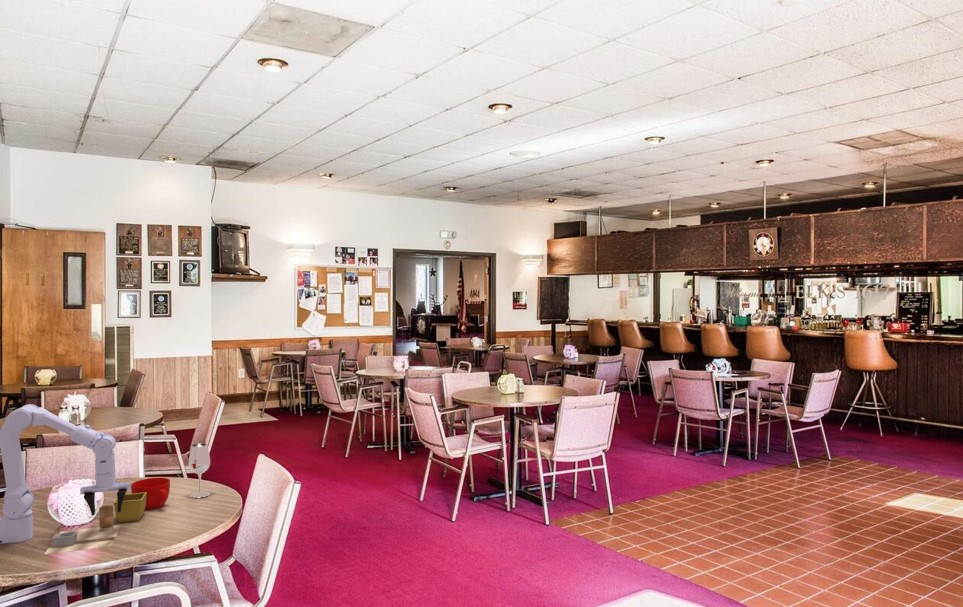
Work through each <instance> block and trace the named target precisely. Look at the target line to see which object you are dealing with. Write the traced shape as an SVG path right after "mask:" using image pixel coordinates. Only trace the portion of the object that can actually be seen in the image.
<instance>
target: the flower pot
mask: <svg viewBox="0 0 963 607" xmlns="http://www.w3.org/2000/svg"><path fill="white" fill-rule="evenodd" d="M146 494H147V493H146V492H145V493H135V494H132V493H126V494H125V496H124V499H123V502H122V507H121V512H118V498H117V497H116V499H115V500H114V502H113V508H114V512H115V515H116V519H117V520H118V522H119V523H124V522H136V521H140V520H141V518H142V517H143V516H144V513H145V510H146V509H145V506H146Z"/></svg>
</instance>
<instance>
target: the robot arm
mask: <svg viewBox="0 0 963 607" xmlns="http://www.w3.org/2000/svg"><path fill="white" fill-rule="evenodd" d="M29 426H32V427H39V426H47V427H49V428H52V429H55V430H57V431H59V432H61V433H64V434H66V435H69V437H70V439H71V440H70V441H73V442H74V443H77V444H78V445H81V446H83V447H85V448H88V449H90V450H92V453H93V454H94V455H95V456H94V457H95V460H94V470H95V474H94V475H95V484H94V485H87V486H82V487H80V489H79V492H80V493H79V494H80V495H83V499H84V501H85V502H86V504H87V505H88V508H89V510H90V513H91V516H95V515H96V503H95V502H96V501H95V500H96V498H95V497H96V493H104V492H105V493H106V492H111V491H113V492H114V491H117V492H116V499H117V498H118V512H121V507H122V502H123V499H124V496H125V494H127V491H128V490H129V491H131V484H132V483H131V481H130V482H116V459H115V447H116V444H117V441H116V438H115V437H114V436H112V435H111V434H107V433H106V434H105V433H104V432H103V431H101V432H99V431H97V430H95V429H92V428H91V425H89V424H85V425H84V424H79V425H75V424H73V423H72V422H69V421H68V420H66V419H63V418H62V417H60V416H58V415H56V414H55V413H52V412H50V411H49V410H47V409H46V408H44V407H41V406H40V407H39V406H37V405H36V404H31V403H28V404H25V405H23V406H22V407H19V408H16V409H14V410H13V411H11V413H9V414H8V415H7V416H5V421H4V423H3V424H2V426H1V428H0V452H1V453H0V454H1V455H0V456H1V459H2V467H3V473H4V479H5V487H6V489H5V492H4V496H3V499H4V502H3V505H2V507H1V511H2V514H3V515H4V516H0V545H1V544H9V543H11V544H13V543H21V542H25V541H28V540H30V539H32V538H33V537H34V526H33V525H34V522H33V521H34V520H33V519H34V517H33V510H32V507H33V505H34V503H35V495H34V494H33V493H32V492H31V490H30V489H31V488H30V485H28V483H27V481H26V474H25V469H24V468H25V467H24V461H23V456H22V455H23V454H22V448H21V442H20V435H21V434H23V432H24V431H25V430H26V429H27V428H28V427H29Z"/></svg>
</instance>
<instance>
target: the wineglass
mask: <svg viewBox="0 0 963 607" xmlns="http://www.w3.org/2000/svg"><path fill="white" fill-rule="evenodd" d="M210 466H211V456H210V451H209V447H208V444H207V443H206V442H205V443H203V442H200V443H194V444H192V445H191V446H190V451H189V458H188V468H189V469H190V471H191V472H192V473H194V474H197V476H198V491H197V492H192V493H191V494H189V498H191V497H193V498H192V499H201V497H203V498H206V496H207V497H209V496H210V495H211V492H210V491H202V474H203V473H205V472H207V471H208V470H209V468H210Z"/></svg>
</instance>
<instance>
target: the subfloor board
mask: <svg viewBox="0 0 963 607" xmlns="http://www.w3.org/2000/svg"><path fill="white" fill-rule="evenodd" d="M99 527H100V526H97V527H89V528H81V529H71V530H63V531H62V530H61V531H60V532H59V533H68V532H76V531H77V542H76V543H75V545H73V546H65V547H56V548H52V543H51V544H50V545H49V547H48V548H47V549H46V551H45V552H44V553H43V555H51V554H60V553H67V552H75V551H83V550H84V551H86V550H92V549H100V548H107V547H112V545H113V543H114V541H115V539H116V537H117V535H118V533H119V530H120V529H121V527H122V524H114V529H113V530H110V531H105V532H101V531H99Z"/></svg>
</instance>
